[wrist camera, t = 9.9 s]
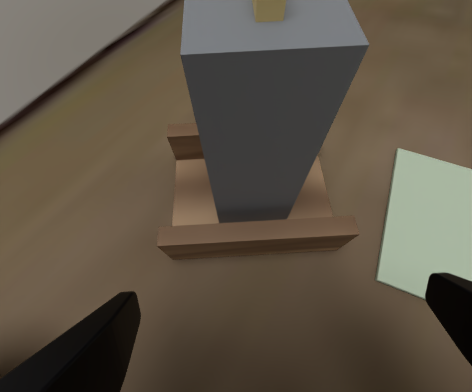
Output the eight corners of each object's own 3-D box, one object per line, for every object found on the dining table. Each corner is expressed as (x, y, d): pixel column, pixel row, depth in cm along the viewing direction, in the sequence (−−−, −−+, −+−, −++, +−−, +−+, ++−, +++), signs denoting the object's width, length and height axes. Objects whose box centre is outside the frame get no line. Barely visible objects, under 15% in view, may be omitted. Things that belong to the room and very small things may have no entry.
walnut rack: (336, 250, 18) (359, 234, 14) (173, 259, 18) (157, 246, 14) (311, 147, 22) (324, 115, 19) (179, 154, 22) (168, 124, 19)
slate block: (286, 220, 18) (418, -61, 5) (219, 224, 18) (156, -48, 5) (277, 164, 20) (349, -135, 7) (217, 167, 20) (173, -127, 7)
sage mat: (523, 338, 15) (528, 339, 15) (375, 280, 17) (377, 279, 17) (510, 183, 20) (514, 181, 20) (396, 150, 22) (398, 148, 21)
